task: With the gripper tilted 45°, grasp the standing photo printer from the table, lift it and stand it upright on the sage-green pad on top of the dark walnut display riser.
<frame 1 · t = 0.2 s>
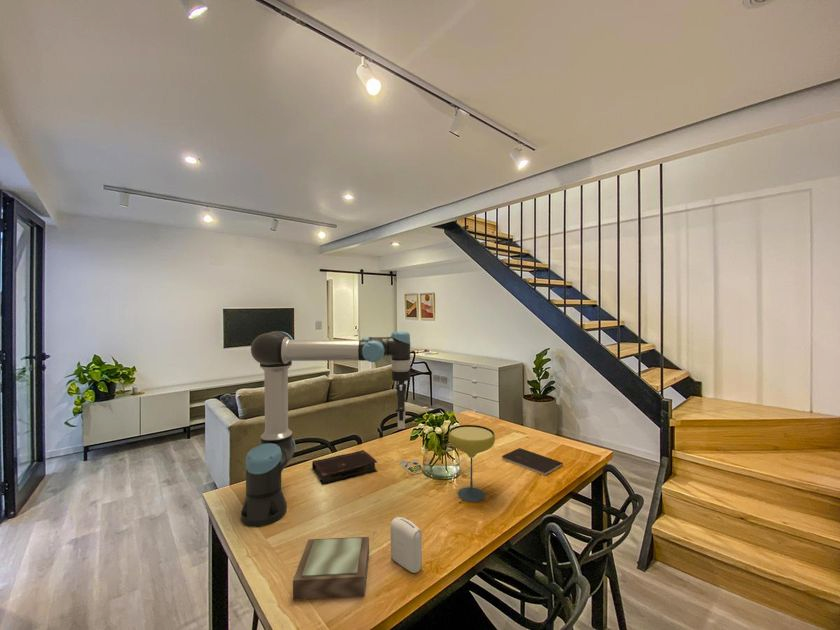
hand: (401, 423, 143), 28 cm above the table, tool pointing down, fingers open, 13 cm apart
cocktail glass: (471, 495, 141), on the table
handheld gaming device: (412, 467, 166), on the table
display riser: (334, 574, 99), on the table
photo printer: (406, 563, 103), on the table
hardcover book: (531, 464, 170), on the table
diary: (344, 472, 162), on the table
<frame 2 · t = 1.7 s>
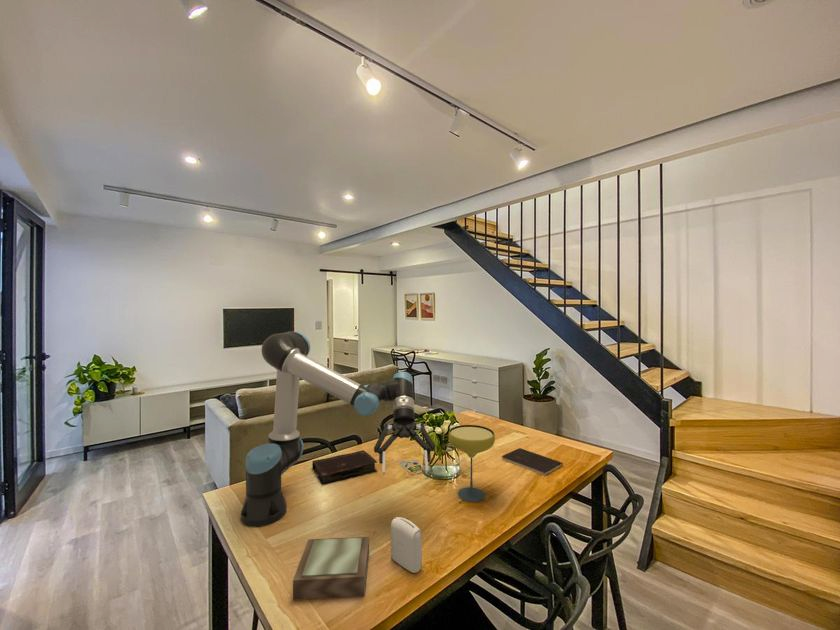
hand: (405, 472, 113), 22 cm above the table, tool tilted 45°, fingers open, 13 cm apart
nothing on the table moved.
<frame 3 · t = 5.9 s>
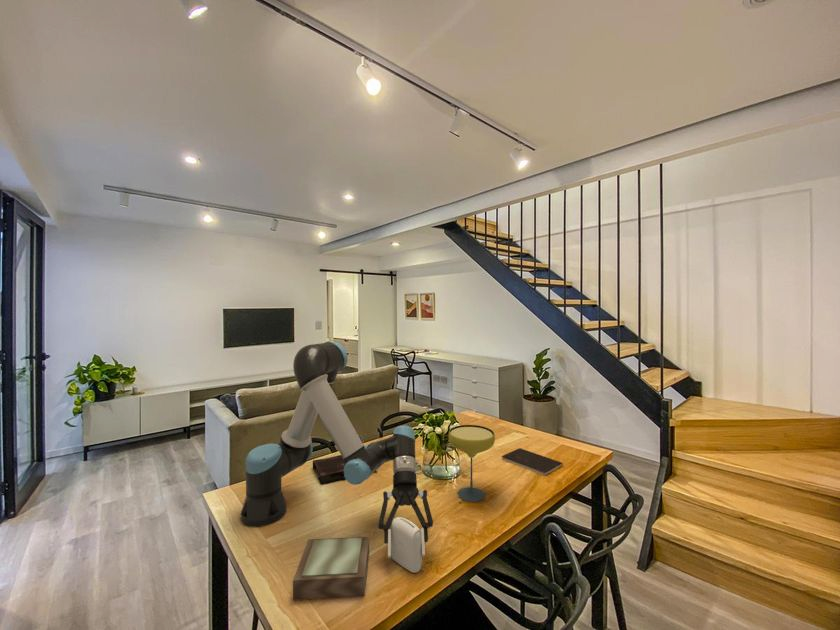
hand: (406, 556, 100), 4 cm above the table, tool tilted 45°, fingers closed on photo printer, 9 cm apart
photo printer: (406, 563, 103), on the table, touching gripper
everything else where it was.
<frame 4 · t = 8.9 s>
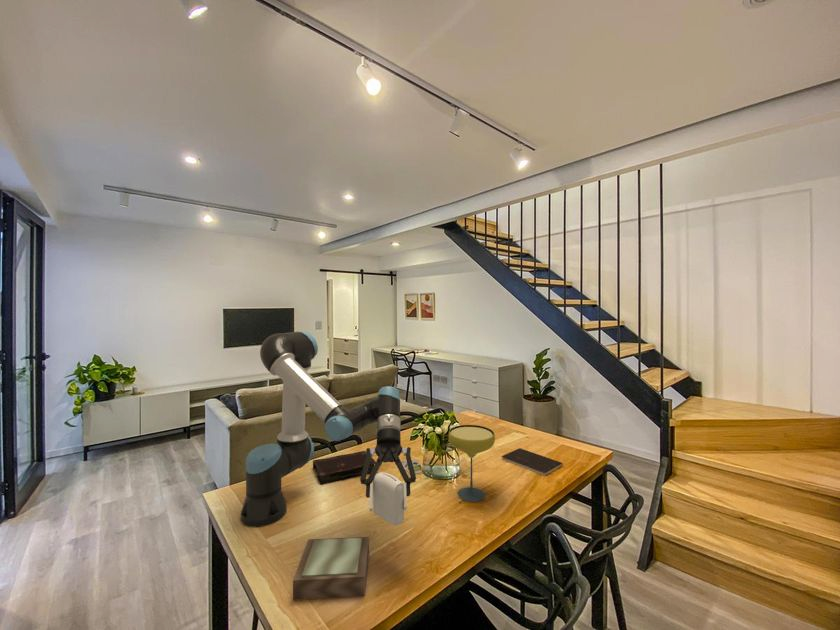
hand: (388, 509, 99), 18 cm above the table, tool tilted 45°, fingers closed on photo printer, 9 cm apart
photo printer: (388, 518, 102), point 14 cm above the table, touching gripper
everything else where it was.
when the fingers open (11 cm above the table, at t = 11.9 s): photo printer drops 1 cm, resting on display riser.
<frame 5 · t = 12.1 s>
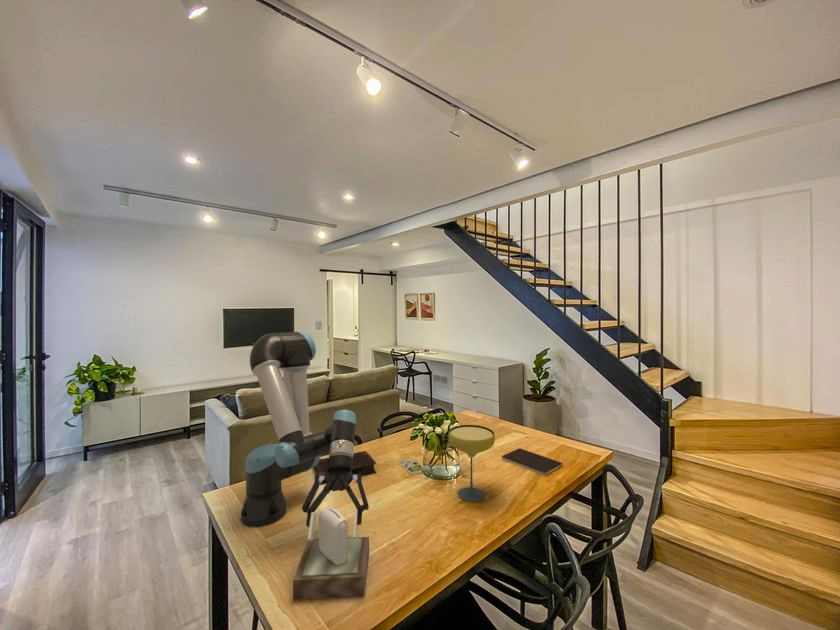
hand: (332, 539, 96), 12 cm above the table, tool tilted 45°, fingers open, 11 cm apart
photo printer: (333, 555, 99), point 5 cm above the table, touching display riser
everything else where it was.
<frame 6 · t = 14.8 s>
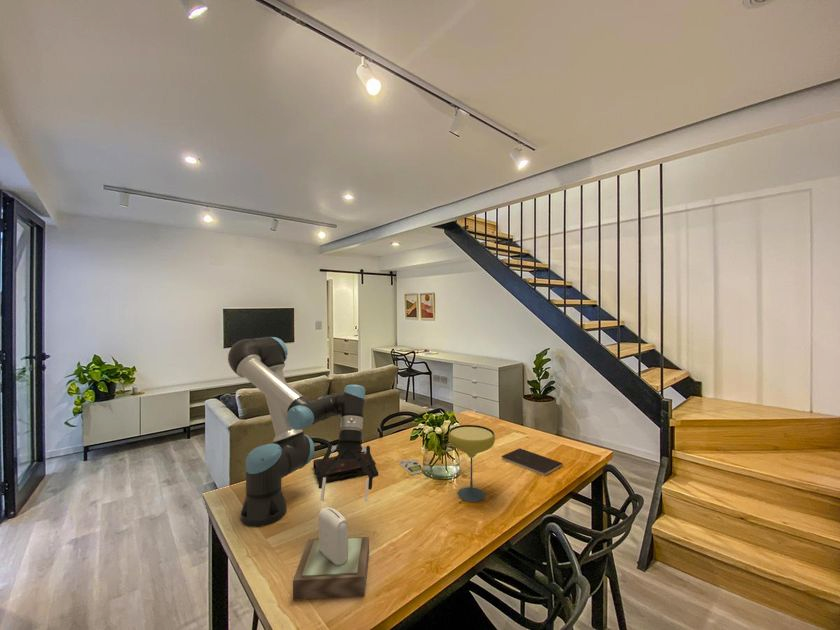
hand: (344, 501, 111), 14 cm above the table, tool tilted 30°, fingers open, 13 cm apart
nothing on the table moved.
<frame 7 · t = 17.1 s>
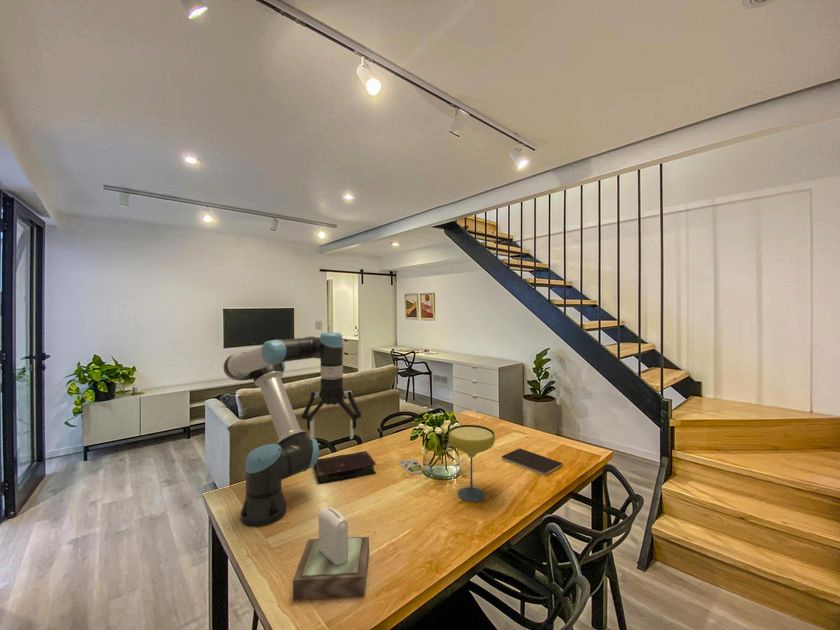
hand: (332, 438, 124), 29 cm above the table, tool pointing down, fingers open, 13 cm apart
at the end: photo printer inside the target area (0.3 cm from its centre), point 5.2 cm above the table; photo printer tilted 0°; the gripper is holding nothing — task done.
